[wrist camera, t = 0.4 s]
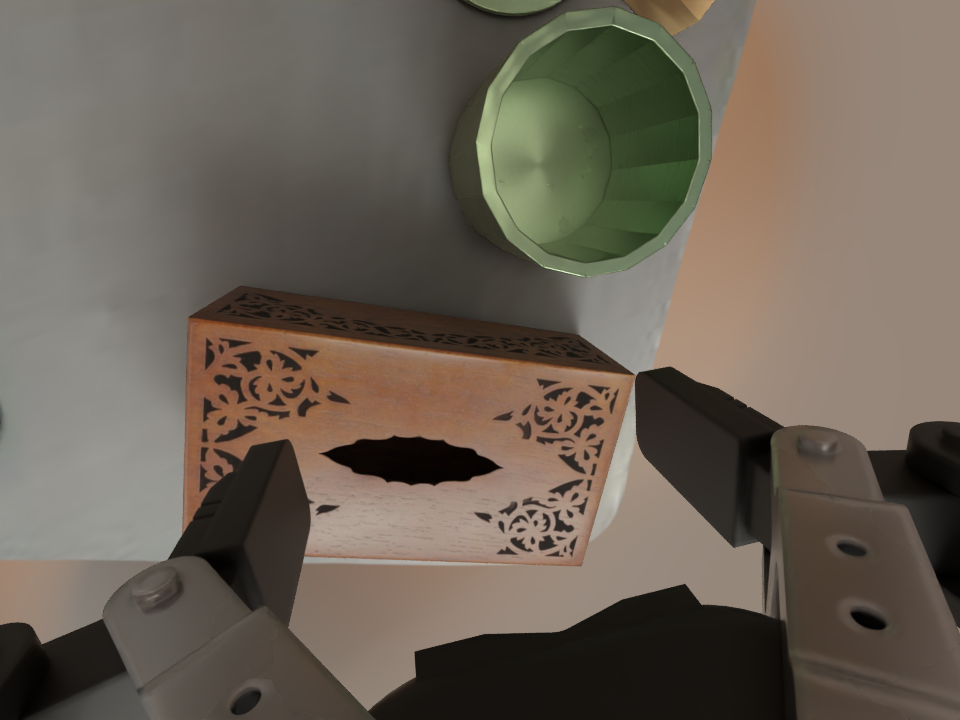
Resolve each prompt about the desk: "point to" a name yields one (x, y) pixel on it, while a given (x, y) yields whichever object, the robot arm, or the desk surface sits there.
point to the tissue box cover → (407, 425)
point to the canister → (585, 144)
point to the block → (671, 12)
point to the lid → (513, 6)
